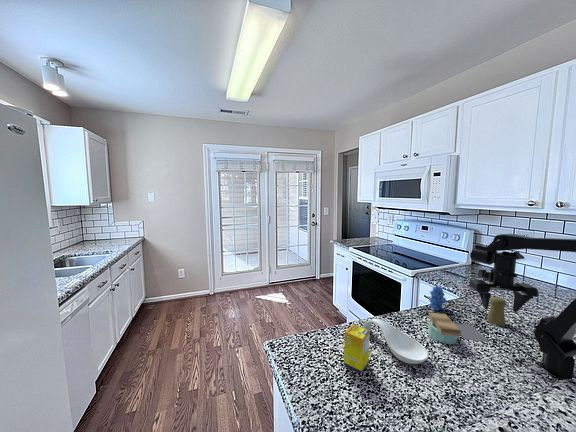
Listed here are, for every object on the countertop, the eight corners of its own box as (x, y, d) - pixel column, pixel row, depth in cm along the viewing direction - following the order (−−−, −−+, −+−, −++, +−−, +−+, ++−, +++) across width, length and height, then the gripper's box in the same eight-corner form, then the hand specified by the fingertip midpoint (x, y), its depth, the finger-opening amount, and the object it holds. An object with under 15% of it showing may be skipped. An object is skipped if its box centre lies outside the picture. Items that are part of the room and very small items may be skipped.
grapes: (440, 318, 106) (442, 291, 105) (424, 311, 111) (426, 286, 110) (451, 311, 113) (453, 286, 112) (435, 305, 118) (437, 281, 117)
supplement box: (351, 355, 80) (352, 323, 79) (368, 363, 76) (370, 330, 75) (342, 364, 76) (344, 331, 75) (361, 374, 72) (363, 338, 71)
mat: (489, 343, 88) (489, 342, 88) (464, 340, 90) (464, 339, 89) (471, 326, 100) (471, 324, 100) (449, 323, 101) (450, 322, 101)
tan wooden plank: (460, 336, 84) (460, 330, 84) (441, 334, 85) (441, 328, 85) (445, 319, 96) (445, 314, 96) (428, 317, 97) (428, 312, 97)
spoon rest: (435, 362, 78) (436, 341, 77) (414, 376, 72) (415, 353, 71) (374, 327, 98) (375, 310, 97) (353, 335, 92) (354, 317, 91)
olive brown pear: (509, 328, 99) (511, 302, 98) (492, 326, 100) (494, 300, 99) (499, 320, 105) (501, 296, 104) (483, 319, 106) (485, 294, 105)
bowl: (461, 346, 86) (462, 334, 85) (433, 343, 87) (434, 331, 87) (450, 332, 94) (451, 321, 94) (425, 329, 96) (425, 319, 96)
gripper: (518, 264, 93) (514, 303, 94) (463, 260, 97) (460, 298, 98) (542, 273, 82) (537, 317, 83) (479, 269, 86) (475, 311, 87)
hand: (500, 310), depth 88 cm, fingers open, 9 cm apart
